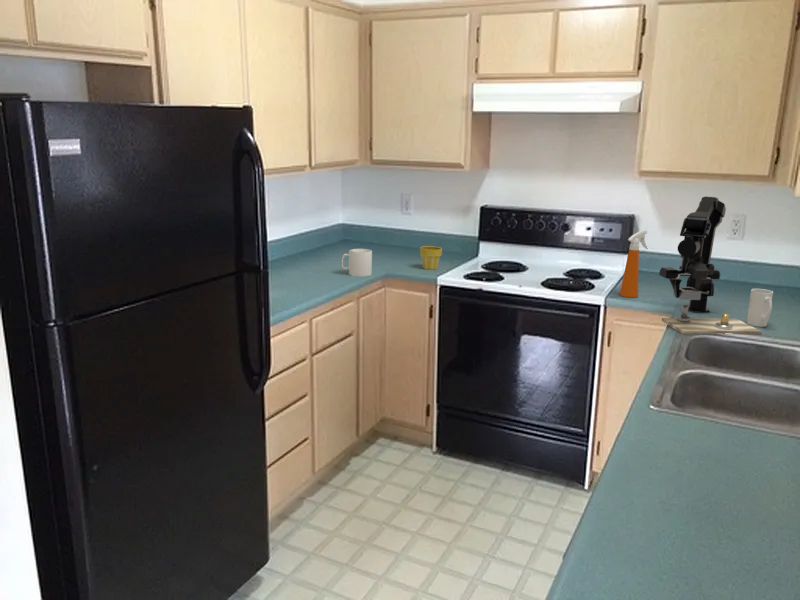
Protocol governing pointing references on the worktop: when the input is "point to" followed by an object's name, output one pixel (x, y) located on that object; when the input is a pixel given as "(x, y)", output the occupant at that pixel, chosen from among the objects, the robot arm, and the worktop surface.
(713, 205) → the robot arm
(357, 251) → the mug
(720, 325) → the hub
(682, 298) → the grey square frame
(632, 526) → the worktop surface
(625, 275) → the spray bottle
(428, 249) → the plant pot
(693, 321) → the board
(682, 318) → the stand
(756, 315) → the mug
